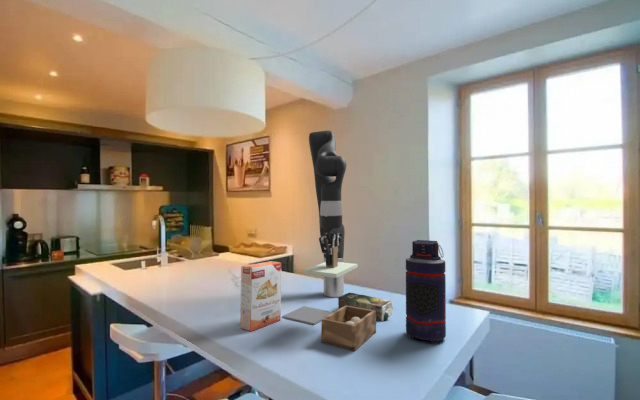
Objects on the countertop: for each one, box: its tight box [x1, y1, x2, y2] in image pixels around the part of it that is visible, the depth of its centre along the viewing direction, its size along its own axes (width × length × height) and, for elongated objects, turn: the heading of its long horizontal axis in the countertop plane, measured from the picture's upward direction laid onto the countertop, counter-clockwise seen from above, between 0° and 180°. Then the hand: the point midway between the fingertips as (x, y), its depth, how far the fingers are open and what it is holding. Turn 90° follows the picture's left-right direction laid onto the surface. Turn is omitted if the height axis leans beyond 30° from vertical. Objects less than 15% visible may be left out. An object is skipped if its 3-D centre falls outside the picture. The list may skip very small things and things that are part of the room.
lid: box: [303, 246, 359, 278], centre depth 111 cm, size 17×12×9 cm
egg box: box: [320, 305, 377, 352], centre depth 101 cm, size 16×11×7 cm
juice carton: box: [337, 292, 394, 322], centre depth 124 cm, size 20×10×6 cm, turn 55°
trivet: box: [281, 305, 334, 326], centre depth 121 cm, size 14×14×1 cm
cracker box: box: [239, 260, 282, 332], centre depth 112 cm, size 14×6×21 cm, turn 142°
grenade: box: [405, 239, 447, 345], centre depth 102 cm, size 14×12×30 cm
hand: (331, 264), depth 111 cm, fingers closed on lid, 3 cm apart
